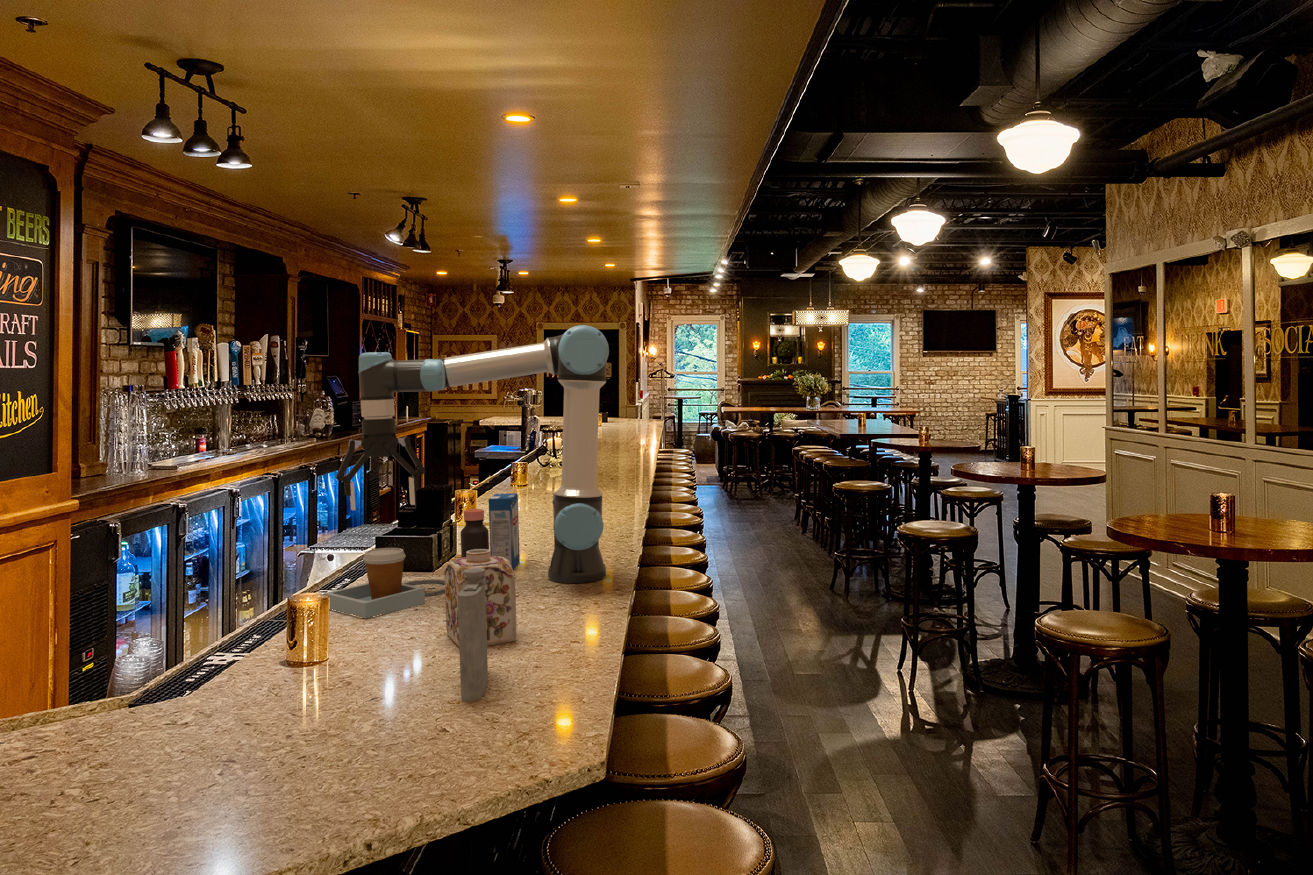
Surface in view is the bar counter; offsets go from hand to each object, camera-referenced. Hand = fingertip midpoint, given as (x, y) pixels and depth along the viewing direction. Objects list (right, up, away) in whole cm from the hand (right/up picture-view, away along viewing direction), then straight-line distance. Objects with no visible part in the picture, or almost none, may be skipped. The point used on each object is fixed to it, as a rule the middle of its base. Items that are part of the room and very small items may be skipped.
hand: (383, 507), depth 201 cm
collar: (+7, -22, +10) cm, 25 cm away
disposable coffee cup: (+2, -22, -3) cm, 22 cm away
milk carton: (+23, -20, +34) cm, 46 cm away
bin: (-1, -23, -4) cm, 23 cm away
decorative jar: (+30, -24, -31) cm, 49 cm away
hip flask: (+34, -26, -56) cm, 71 cm away
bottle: (+20, -22, +9) cm, 31 cm away
